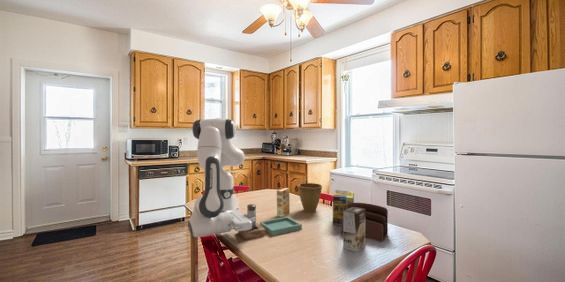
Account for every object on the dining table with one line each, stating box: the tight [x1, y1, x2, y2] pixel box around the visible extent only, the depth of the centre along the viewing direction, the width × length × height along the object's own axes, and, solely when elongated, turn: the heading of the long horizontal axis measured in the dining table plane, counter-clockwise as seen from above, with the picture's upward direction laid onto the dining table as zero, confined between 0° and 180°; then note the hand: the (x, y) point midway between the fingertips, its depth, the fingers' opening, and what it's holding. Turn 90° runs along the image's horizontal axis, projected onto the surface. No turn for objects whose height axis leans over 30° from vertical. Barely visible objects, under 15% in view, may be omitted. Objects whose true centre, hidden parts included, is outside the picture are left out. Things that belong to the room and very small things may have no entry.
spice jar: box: [246, 203, 257, 230], centre depth 126 cm, size 4×4×14 cm
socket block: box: [237, 222, 266, 240], centre depth 126 cm, size 10×10×3 cm
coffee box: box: [342, 207, 366, 252], centre depth 112 cm, size 9×6×16 cm
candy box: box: [276, 187, 291, 218], centre depth 155 cm, size 9×4×15 cm, turn 150°
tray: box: [259, 216, 303, 237], centre depth 134 cm, size 14×17×2 cm
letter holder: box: [340, 201, 389, 243], centre depth 126 cm, size 10×20×14 cm, turn 57°
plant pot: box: [297, 182, 323, 213], centre depth 164 cm, size 15×15×16 cm
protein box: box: [332, 190, 355, 227], centre depth 143 cm, size 10×15×16 cm
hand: (253, 217), depth 126 cm, fingers closed on spice jar, 4 cm apart
